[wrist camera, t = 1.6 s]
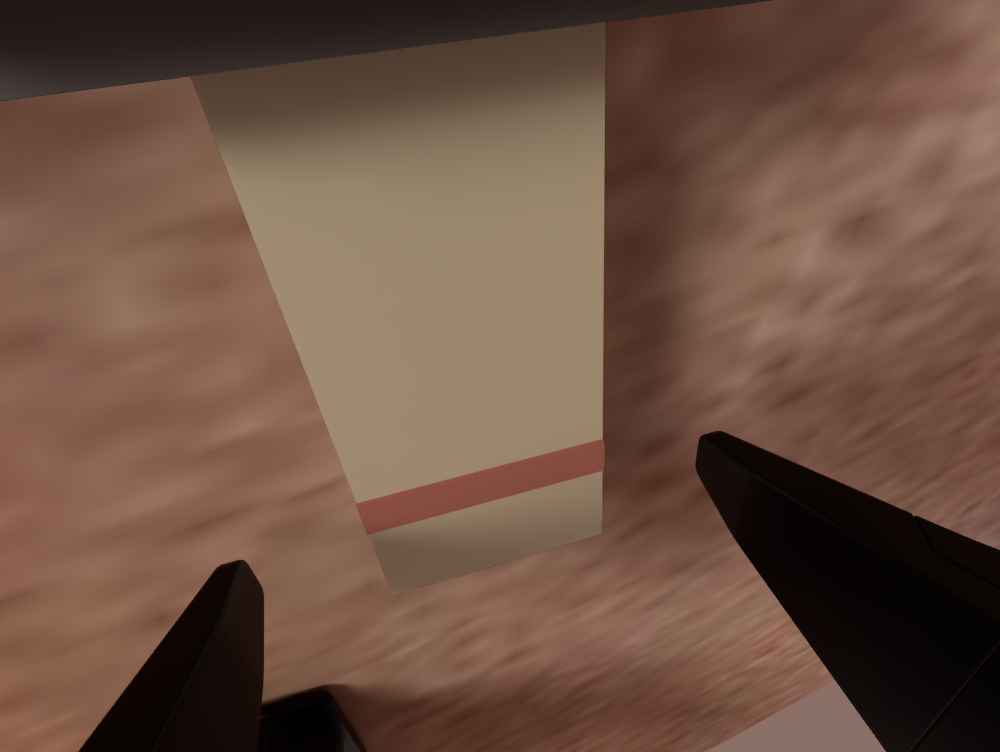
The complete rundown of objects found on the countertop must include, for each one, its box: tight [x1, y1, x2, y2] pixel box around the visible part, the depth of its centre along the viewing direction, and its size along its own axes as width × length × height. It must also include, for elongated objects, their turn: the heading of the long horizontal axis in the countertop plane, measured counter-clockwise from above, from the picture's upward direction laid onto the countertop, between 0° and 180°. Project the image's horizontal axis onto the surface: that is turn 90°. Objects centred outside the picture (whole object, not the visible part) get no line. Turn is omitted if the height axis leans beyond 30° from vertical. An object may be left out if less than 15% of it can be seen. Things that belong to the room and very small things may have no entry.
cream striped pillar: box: [191, 22, 605, 595], centre depth 9 cm, size 14×5×4 cm, turn 6°
